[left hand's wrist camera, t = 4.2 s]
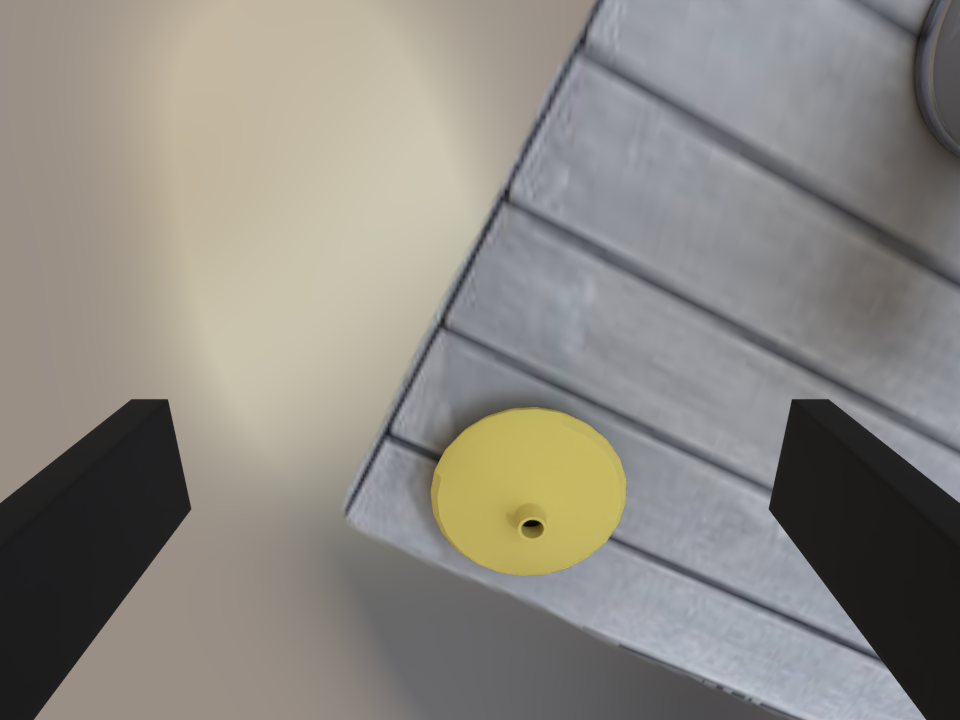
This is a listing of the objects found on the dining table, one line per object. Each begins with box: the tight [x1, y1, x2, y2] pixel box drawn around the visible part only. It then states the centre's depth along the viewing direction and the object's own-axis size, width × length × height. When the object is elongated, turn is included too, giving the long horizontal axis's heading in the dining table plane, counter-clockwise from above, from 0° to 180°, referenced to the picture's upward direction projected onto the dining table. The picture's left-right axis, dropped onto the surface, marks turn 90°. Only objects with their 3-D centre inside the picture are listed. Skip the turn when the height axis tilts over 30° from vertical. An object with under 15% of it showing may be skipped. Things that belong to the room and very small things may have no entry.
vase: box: [431, 407, 626, 576], centre depth 47 cm, size 16×16×7 cm
